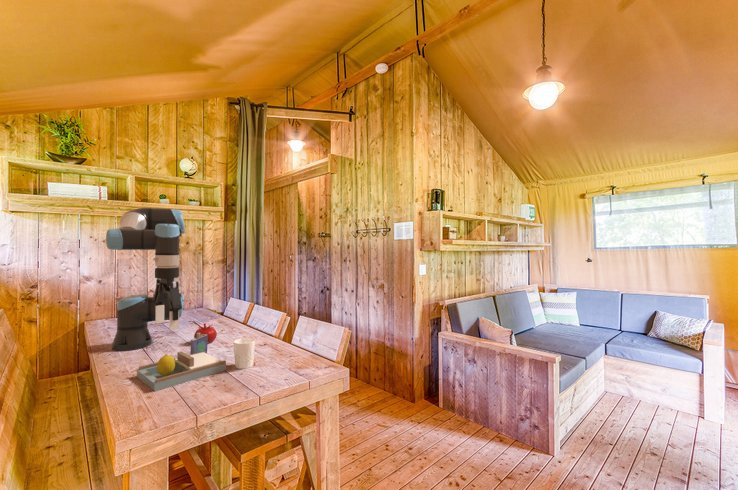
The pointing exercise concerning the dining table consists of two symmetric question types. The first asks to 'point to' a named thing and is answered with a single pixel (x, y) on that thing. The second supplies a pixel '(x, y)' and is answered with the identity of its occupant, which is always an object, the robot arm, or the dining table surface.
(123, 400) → the dining table surface
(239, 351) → the white cup
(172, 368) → the lemon
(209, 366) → the sliding lid box
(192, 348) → the blue-grey curved piece
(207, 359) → the slide cover
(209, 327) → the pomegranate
